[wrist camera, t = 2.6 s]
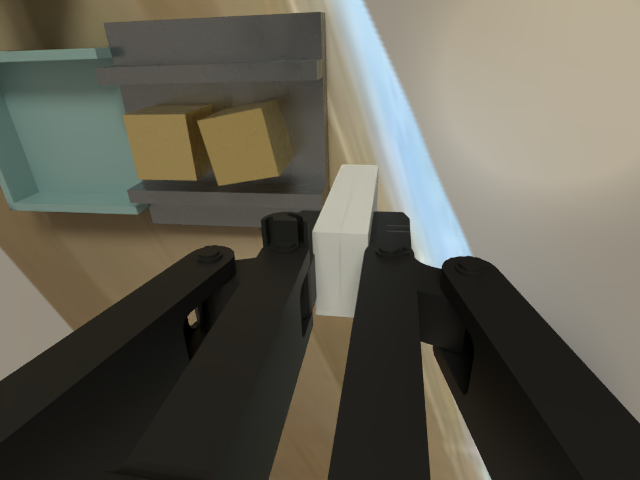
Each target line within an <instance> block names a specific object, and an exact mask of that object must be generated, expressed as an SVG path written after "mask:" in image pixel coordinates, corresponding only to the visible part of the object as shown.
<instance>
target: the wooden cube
mask: <svg viewBox="0 0 640 480" xmlns="http://www.w3.org/2000/svg"><path fill="white" fill-rule="evenodd" d="M197 122H198V125H199V128H200V131H201V134H202V137H203V140H204V143H205V146H206V149H207V152H208V156H209V159H210V162H211V165H212V168H213V171H214V174H215V177H216V180H217V183H218V186H221V185H227V184H233V183H239V182H245V181H252V180H258V179H264V178H270V177H277V176H280V174H281V173H282V172H283V171H284V169H285V168H286V167H287V166H288V164H289V163H290V162H291V161H292V160H293V158H294V157H293V152H292V148H291V144H290V140H289V136H288V132H287V128H286V123H285V119H284V115H283V111H282V107H281V103H280V99H279V98H275V99H270V100H266V101H261V102H256V103H251V104H247V105H242V106H237V107H232V108H227V109H223V110H221V111H218V112H216V113H214V114H212V115H209V116H207V117H205V118H203V119H200V120H198V121H197Z"/></svg>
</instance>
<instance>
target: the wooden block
mask: <svg viewBox="0 0 640 480" xmlns="http://www.w3.org/2000/svg"><path fill="white" fill-rule="evenodd" d="M212 114H214V111H213V105H212V104H157V105H154V106H150V107H147V108H144V109H140V110H137V111H134V112H130V113H127V114H124V115H122V116H123V120H124V124H125V128H126V132H127V136H128V140H129V144H130V148H131V152H132V156H133V160H134V164H135V168H136V172H137V176H138V179H142V180H194V181H197V180H198V179H200V178H201V177H202V176H204V175H205V174H206V173H208V172H209V171H210V170H212V169H213V168H212V165H211V162H210V159H209V156H208V152H207V149H206V146H205V143H204V140H203V137H202V134H201V131H200V128H199V125H198V122H197V121H198V120H200V119H203V118H205V117H207V116H209V115H212Z"/></svg>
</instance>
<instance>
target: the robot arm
mask: <svg viewBox="0 0 640 480" xmlns="http://www.w3.org/2000/svg"><path fill="white" fill-rule="evenodd" d="M377 197H378V165H341V168H340V170H339V172H338V174H337V177H336V179H335V181H334V183H333V186H332V188H331V190H330V192H329V195H328V197H327V199H326V202H325V204H324V206H323V208H322V211H312V210H302V211H300V212H299V213H298V212H277V213H272V214H270V215H267V216H265V217H263V218H262V219H261V228H262V238H263V248H262V250H261V251H260V253H259V254H258V256H257V257H256V258H250V259H242V260H235V256H234V251H233V250H231V249H230V248H228V247H225V246H217V245H212V246H205V247H204V248H201V249H197V250H195V251H193V252H191V253H190V254H188V255H187V256H185V257H184V258H182V259H181V260H179V261H178V262H176V263H175V264H173V265H172V266H170V267H169V268H167V269H166V270H164V271H163V272H161V273H160V274H159V275H157V276H156V277H154V278H153V279H151V280H150V281H148V282H147V283H145V284H144V285H142V286H141V287H139V288H138V289H136V290H135V291H133V292H132V293H130V294H129V295H127V296H126V297H124V298H123V299H121V300H120V301H118V302H117V303H115V304H114V305H113V306H111V307H110V308H108V309H107V310H105V311H104V312H102V313H101V314H99V315H98V316H96V317H95V318H93V319H92V320H90V321H89V322H87V323H86V324H84V325H83V326H81V327H80V328H78V329H77V330H75V331H74V332H72V333H71V334H69V335H68V336H66V337H65V338H64V339H62V340H61V341H59V342H58V343H56V344H55V345H53V346H52V347H50V348H49V349H47V350H46V351H44V352H43V353H41V354H40V355H38V356H37V357H35V358H34V359H33V360H31V361H30V362H28V363H26V364H25V365H23V366H22V367H20V368H19V369H18V370H16V371H15V372H13V373H12V374H10V375H9V376H7V377H6V378H4V379H3V380H1V381H0V480H268V479H269V475H270V472H271V469H272V465H273V462H274V458H275V455H276V451H277V448H278V444H279V441H280V437H281V434H282V431H283V427H284V424H285V420H286V417H287V413H288V410H289V406H290V403H291V400H292V396H293V393H294V389H295V386H296V382H297V379H298V375H299V372H300V368H301V365H302V362H303V358H304V355H305V351H306V348H307V344H308V341H309V337H310V334H311V331H312V327H313V311H312V310H313V307H314V304H315V303H316V315H327V316H340V317H353V318H354V319H353V325H352V332H351V338H350V344H349V350H348V356H347V363H346V369H345V375H344V381H343V387H342V394H341V400H340V406H339V412H338V418H337V425H336V431H335V437H334V443H333V449H332V456H331V462H330V468H329V474H328V480H430V466H429V452H428V439H427V425H426V411H425V397H424V383H423V369H422V355H421V342H424V343H428V344H431V345H433V352H434V356H435V358H436V360H437V362H438V364H439V367H440V369H441V371H442V373H443V375H444V377H445V380H446V382H447V384H448V386H449V388H450V390H451V392H452V395H453V397H454V399H455V401H456V403H457V405H458V408H459V410H460V412H461V414H462V416H463V418H464V421H465V423H466V425H467V427H468V429H469V431H470V434H471V436H472V438H473V440H474V442H475V444H476V447H477V449H478V451H479V453H480V455H481V457H482V459H483V462H484V464H485V466H486V468H487V470H488V472H489V475H490V477H491V479H492V480H640V423H639V422H638V421H637V420H636V419H635V418H634V417H633V416H632V415H631V414H630V413H629V411H628V410H627V409H626V408H625V407H624V406H623V405H622V404H621V403H620V402H619V401H618V399H617V398H616V397H615V396H614V395H613V394H612V393H611V392H610V391H609V390H608V388H607V387H606V386H605V385H604V384H603V383H602V382H601V381H600V380H599V379H598V378H597V377H596V375H595V374H594V373H593V372H592V371H591V370H590V369H589V368H588V367H587V366H586V365H585V363H583V361H582V360H581V359H580V358H579V357H578V356H577V355H576V354H575V353H574V352H573V350H572V349H571V348H570V347H569V346H568V345H567V344H566V343H565V342H564V341H563V340H562V338H561V337H560V336H559V335H558V334H557V333H556V332H555V331H554V330H553V329H552V328H551V326H550V325H548V323H547V322H546V321H545V320H544V319H543V318H542V317H541V316H540V314H539V313H538V312H537V311H536V310H535V309H534V308H533V307H532V306H531V305H530V304H529V303H528V301H527V300H526V299H525V298H524V297H523V296H522V295H521V294H520V293H519V292H518V291H517V290H516V288H515V287H514V286H513V285H512V284H511V283H510V282H509V281H508V280H507V279H506V278H505V276H504V275H503V274H502V273H501V272H500V271H499V270H498V269H497V268H496V267H495V266H494V265H492V264H491V263H489V262H487V261H485V260H482V259H480V258H477V257H475V258H474V257H472V256H466V257H462V256H460V257H454V258H450V259H448V260H446V261H445V262H444V263H443V265H442V269H439V268H435V267H431V266H428V265H425V264H423V263H421V262H419V261H418V260H416V259H415V258H414V252H413V250H412V249H411V235H410V220H409V218H408V217H407V216H406V215H405V214H404V213H403V212H377ZM194 309H195V313H196V317H197V321H196V322H195V323H194V324H193V325H191V326H190V325H189V323H188V318H187V316H188V315H189V314H190V312H192V311H193V310H194Z"/></svg>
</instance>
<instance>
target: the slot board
mask: <svg viewBox="0 0 640 480" xmlns="http://www.w3.org/2000/svg"><path fill="white" fill-rule="evenodd" d="M104 26H105V30H106V34H107V38H108V42H109V47H110V51H111V55H112V59H113V63H114V66H107V67H98V68H95V72H96V75H97V79H98V83H99V85H119V87H120V92H121V96H122V100H123V104H124V108H125V112H126V114H127V113H130V112H134V111H137V110H140V109H144V108H147V107H150V106H154V105H157V104H212V105H213V111H214V113H216V112H218V111H221V110H223V109H227V108H232V107H237V106H242V105H247V104H251V103H256V102H261V101H266V100H270V99H275V98H279V99H280V103H281V107H282V111H283V115H284V119H285V123H286V128H287V132H288V136H289V140H290V144H291V148H292V152H293V157H294V158H293V160H292V161H291V162H290V163H289V164H288V166H287V167H286V168H285V169H284V171H283V172H282V173H281V174H280V176H277V177H270V178H264V179H258V180H252V181H245V182H239V183H233V184H227V185H221V186H218V183H217V180H216V177H215V174H214V171H213V169H212V170H210V171H209V172H208V173H206V174H205V175H204V176H202V177H201V178H200V179H198V180H197V181H194V180H142V182H140V183H138V184H136V185H135V186H133V187H131V188H130V189H128V190H127V192H128V196H129V200H130V203H138V204H148V206H149V210H150V214H151V218H152V223H156V224H182V225H208V226H234V227H260V228H261V219H262V218H263V217H265V216H267V215H270V214H272V213H277V212H298V213H299V212H300V211H302V210H312V211H322V208H323V206H324V204H325V202H326V199H327V197H328V195H329V192H330V188H329V151H328V114H327V78H326V41H325V13H322V12H312V13H292V14H272V15H252V16H232V17H212V18H192V19H173V20H153V21H133V22H113V23H104Z"/></svg>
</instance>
